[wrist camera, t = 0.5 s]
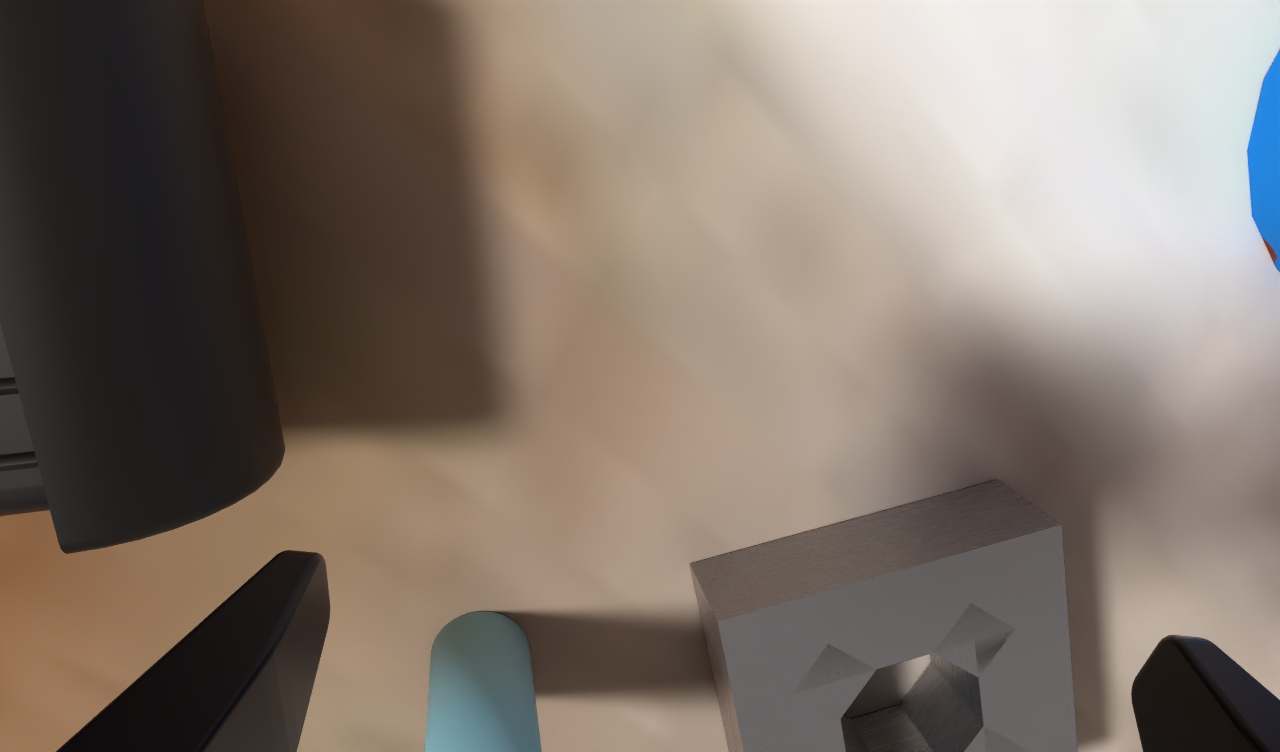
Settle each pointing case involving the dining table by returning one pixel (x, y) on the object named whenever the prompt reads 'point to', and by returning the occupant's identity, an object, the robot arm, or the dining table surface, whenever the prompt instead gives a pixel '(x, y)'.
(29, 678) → the dining table surface
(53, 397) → the end cap
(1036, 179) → the dining table surface
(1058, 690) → the socket block
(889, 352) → the dining table surface
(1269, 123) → the thermos
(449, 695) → the round bit
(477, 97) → the dining table surface
